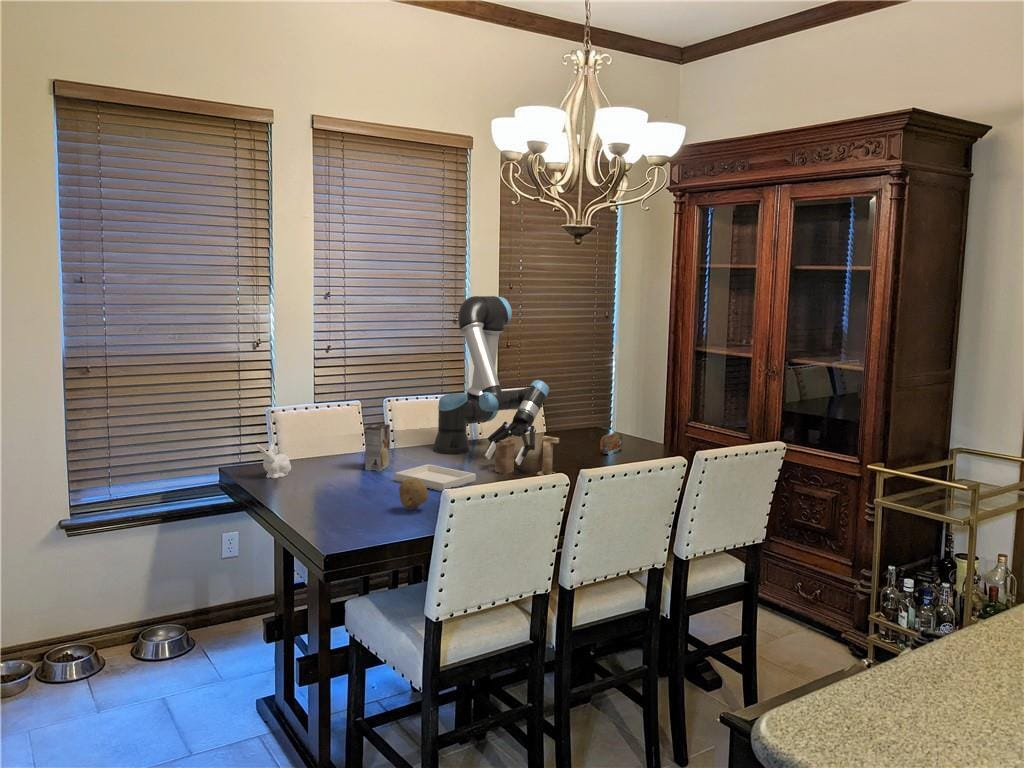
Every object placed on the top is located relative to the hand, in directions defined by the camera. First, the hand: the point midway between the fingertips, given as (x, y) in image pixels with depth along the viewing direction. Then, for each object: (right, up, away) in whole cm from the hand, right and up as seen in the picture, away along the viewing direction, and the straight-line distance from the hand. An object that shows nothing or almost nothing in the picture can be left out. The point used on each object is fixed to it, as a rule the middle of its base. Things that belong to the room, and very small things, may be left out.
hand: (502, 460), depth 302 cm
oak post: (+17, -6, -1) cm, 18 cm away
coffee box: (-47, -3, +2) cm, 47 cm away
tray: (-23, -6, -15) cm, 28 cm away
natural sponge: (-27, -11, -50) cm, 58 cm away
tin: (+45, -1, +42) cm, 62 cm away
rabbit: (-80, -4, -15) cm, 82 cm away
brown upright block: (+1, -5, +3) cm, 5 cm away
